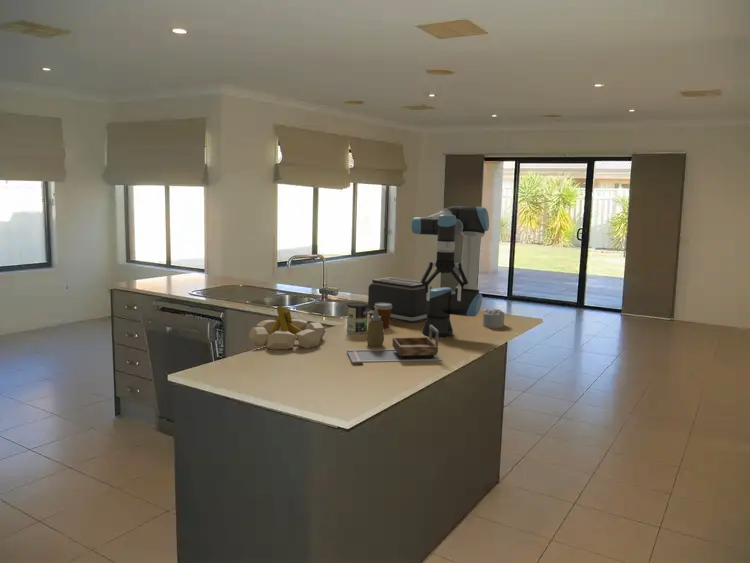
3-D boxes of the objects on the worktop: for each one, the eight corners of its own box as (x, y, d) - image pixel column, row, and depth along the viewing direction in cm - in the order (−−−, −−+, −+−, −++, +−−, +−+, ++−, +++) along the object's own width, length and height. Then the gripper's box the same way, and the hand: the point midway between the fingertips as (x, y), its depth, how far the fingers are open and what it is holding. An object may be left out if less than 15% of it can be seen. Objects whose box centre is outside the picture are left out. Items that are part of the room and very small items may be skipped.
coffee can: (369, 330, 319) (369, 302, 316) (364, 334, 309) (365, 306, 306) (349, 328, 321) (350, 301, 318) (344, 333, 311) (345, 305, 308)
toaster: (384, 309, 372) (385, 275, 369) (432, 318, 351) (434, 282, 348) (363, 314, 357) (364, 279, 354) (412, 323, 336) (414, 286, 333)
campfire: (260, 331, 310) (260, 298, 307) (328, 334, 309) (328, 300, 306) (243, 350, 275) (242, 312, 273) (319, 352, 274) (320, 314, 272)
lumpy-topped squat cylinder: (505, 324, 339) (506, 309, 338) (498, 329, 328) (499, 313, 327) (487, 322, 344) (488, 306, 343) (479, 326, 333) (480, 310, 331)
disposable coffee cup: (370, 327, 324) (371, 304, 322) (377, 323, 333) (378, 301, 331) (387, 329, 321) (388, 306, 319) (394, 325, 329) (395, 303, 328)
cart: (429, 349, 279) (430, 323, 277) (438, 359, 263) (440, 332, 262) (392, 350, 276) (393, 324, 274) (399, 360, 261) (400, 332, 259)
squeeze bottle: (371, 350, 280) (372, 310, 277) (363, 346, 287) (364, 307, 284) (387, 348, 283) (388, 309, 281) (378, 344, 290) (379, 306, 288)
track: (431, 351, 280) (431, 348, 280) (441, 362, 263) (442, 359, 263) (347, 353, 274) (347, 350, 274) (352, 364, 256) (352, 361, 256)
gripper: (418, 251, 260) (416, 301, 263) (476, 252, 263) (474, 302, 266) (415, 249, 267) (413, 298, 271) (471, 250, 271) (469, 299, 274)
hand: (443, 300), depth 268 cm, fingers open, 13 cm apart
